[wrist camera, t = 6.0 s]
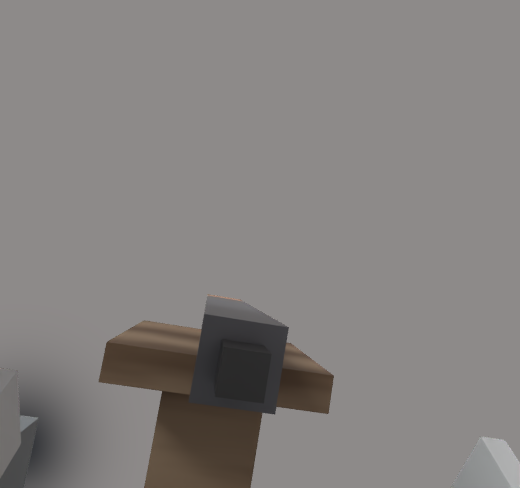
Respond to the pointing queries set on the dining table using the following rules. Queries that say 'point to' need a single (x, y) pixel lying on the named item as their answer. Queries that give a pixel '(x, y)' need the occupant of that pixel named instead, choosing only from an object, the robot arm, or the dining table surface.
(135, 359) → the stand
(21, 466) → the block
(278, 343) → the grey long bar
